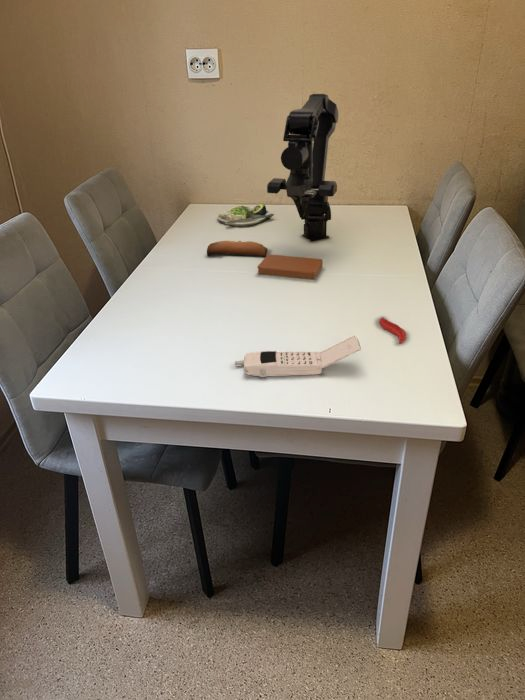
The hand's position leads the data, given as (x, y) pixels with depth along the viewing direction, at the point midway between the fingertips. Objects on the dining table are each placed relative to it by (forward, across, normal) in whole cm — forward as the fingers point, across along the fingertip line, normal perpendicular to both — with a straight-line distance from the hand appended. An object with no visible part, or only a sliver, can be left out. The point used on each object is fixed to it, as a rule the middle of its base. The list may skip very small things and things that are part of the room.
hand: (301, 217), depth 160 cm
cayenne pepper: (+12, +31, -38) cm, 51 cm away
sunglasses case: (+12, -19, -2) cm, 23 cm away
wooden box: (+12, 0, -12) cm, 17 cm away
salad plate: (+12, -28, +30) cm, 43 cm away
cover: (+9, 0, -12) cm, 15 cm away
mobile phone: (+12, +15, -59) cm, 62 cm away
